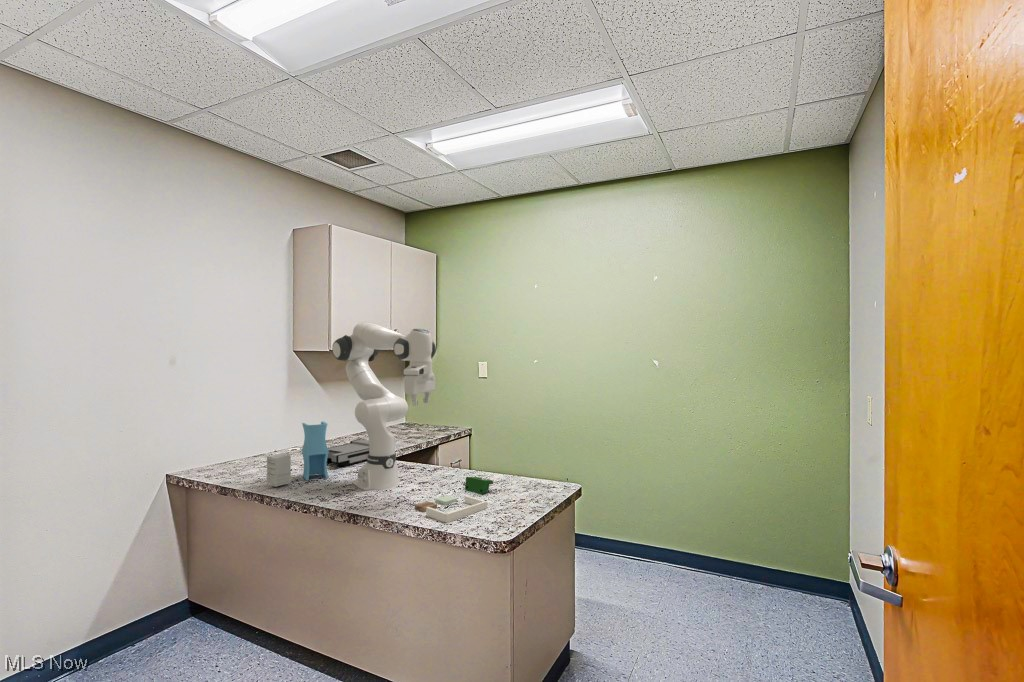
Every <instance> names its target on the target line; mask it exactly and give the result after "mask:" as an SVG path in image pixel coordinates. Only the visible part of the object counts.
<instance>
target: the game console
mask: <svg viewBox="0 0 1024 682" xmlns="http://www.w3.org/2000/svg"><path fill="white" fill-rule="evenodd" d="M327 448H328V451H329V454H328V458H327V465H331V464H334V465H336V466H337V467H341V468H347V467H352V466H355V465H358V464H362V463H365V462H366V463H367V458H368V457H367V456H368V455H369V439H362V438H359V439H354V440H350V442H349V443H345V444H340V445H336V446H330V447H327ZM366 455H367V456H366ZM366 457H367V458H366Z"/></svg>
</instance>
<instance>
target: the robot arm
mask: <svg viewBox="0 0 1024 682" xmlns="http://www.w3.org/2000/svg"><path fill="white" fill-rule="evenodd" d="M380 350H381V351H383V350H385V351H386V350H393V355H394V356H395V357H396V359H397V360H399V361H406V362H407V361H408V362H409V365H408V366H407V367H406V368H404V369H403V375H404V378H403V380H404V381H403V383H404V384H403V389H404V390H403V391H404V393H405V394H406V395H408V396H409V395H410V399H411V404H412V406H413V407H415V406H416V407H417V406H418V405H419V400H418V398H417V397H418V395H419V394H423V395H424V398H423V401H422V402H423V403H424V404H428V403H429V402H430V396H431V392H433V391H435V390H436V377H435V373H434V371H433V358H434V356H435V354H436V351H437V347H436V344H435V342H434V339H432V334H431V332H430V331H429V330H428V329H424V328H413V329H411V331H410V332H409V333H408V334H407V335H406V334H404V333H399V331H398V332H397V331H395V330H391V329H390V328H387V327H384V326H382V325H380V324H376V323H374V322H366V321H364V322H359V323H357V324H356V325H355V326H354V327H353V331H352V334H351V335H347V334H345V335H344V336H341V337H339V338H337V339H336V340H335V341H334V342H333V343H332V347H331V351H332V355H333V356H334V358H335V359H336V360H338V361H341V362H342V361H343V362H345V361H348V362H347V363H346V365H345V372H346V375H347V378H348V380H349V382H350V384H351V386H352V387H353V389H354V391H355V392H356V394H357V396H358V397H359V398H360V399H361V400H362V401H360V402H357V404H356V406H355V408H354V416H355V419H356V421H357V422H358V423H360V424H361V425H362V427H364V429H365V430H366V433H367V437H368V440H369V455H368V456H367V455H366V456H367V457H368V458H367V457H366V458H367V461H366V463H365V464H364V465H363V466H362V467H360V468H359V469H358V473H357V478H356V479H354V480H352V484H353V485H355V486H356V487H358V488H359V489H360V490H363V491H375V490H376V491H383V490H384V491H385V490H389V489H393V488H396V487H397V486H399V483H400V482H401V479H400V478H399V467H398V463H396V462H397V452H396V437H395V435H394V433H393V432H392V431H389V430H388V429H387V427H386V426H387V424H386V423H389V422H395V421H399V420H401V419H403V418H405V417H406V416H407V414H408V411H409V405H408V402H407V401H406V399H404V398H403V397H402V396H398V395H396V394H394V393H393V392H391V391H390V390H389V389H387V388H386V387H385V386H384V385H383V384H382V383H381V382H380V380H379V378H378V377H377V375H376V374H375V372H374V371H373V369H371V367H370V365H369V362H373V361H374V360H375V358H376V357H377V355H378V354H379V352H380Z"/></svg>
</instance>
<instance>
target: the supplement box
mask: <svg viewBox="0 0 1024 682" xmlns="http://www.w3.org/2000/svg"><path fill="white" fill-rule="evenodd" d="M291 458H292V457H291V455H290V454H286V453H282V452H281V453H277V454H272V455H267V456H266V484H267V485H269V486H273V487H279V486H283V485H287V484H291V481H292V480H291V471H292V469H291V467H292V465H291V461H292V459H291Z"/></svg>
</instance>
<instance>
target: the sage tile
mask: <svg viewBox="0 0 1024 682" xmlns="http://www.w3.org/2000/svg"><path fill="white" fill-rule="evenodd" d="M434 500H435V503H436V504H440V505H442V506H448V505H451V504H453V503H457V502H458V498H456V497H454V496H450V495H444V496H440V497H436V498H435V499H434Z"/></svg>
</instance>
